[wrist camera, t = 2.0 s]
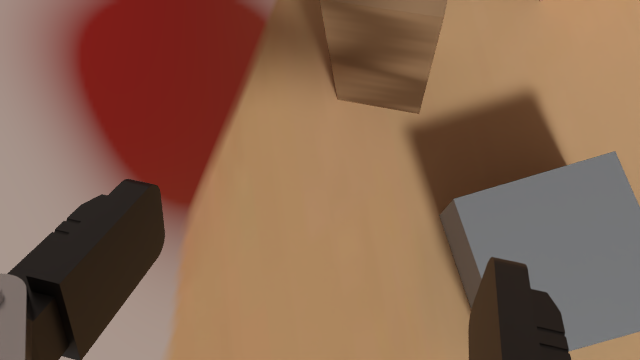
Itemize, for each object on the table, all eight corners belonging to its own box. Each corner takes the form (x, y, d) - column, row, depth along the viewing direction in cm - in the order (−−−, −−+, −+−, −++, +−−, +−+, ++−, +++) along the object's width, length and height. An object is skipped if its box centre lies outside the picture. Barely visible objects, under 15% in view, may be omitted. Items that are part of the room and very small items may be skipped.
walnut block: (434, 38, 29) (465, -93, 19) (418, 113, 28) (443, 17, 18) (354, 25, 29) (345, -107, 20) (337, 99, 28) (319, -2, 19)
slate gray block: (570, 177, 26) (615, 151, 22) (626, 312, 25) (688, 317, 20) (438, 215, 27) (453, 198, 22) (485, 352, 25) (512, 367, 20)
